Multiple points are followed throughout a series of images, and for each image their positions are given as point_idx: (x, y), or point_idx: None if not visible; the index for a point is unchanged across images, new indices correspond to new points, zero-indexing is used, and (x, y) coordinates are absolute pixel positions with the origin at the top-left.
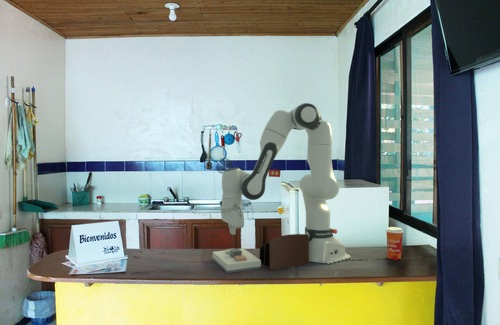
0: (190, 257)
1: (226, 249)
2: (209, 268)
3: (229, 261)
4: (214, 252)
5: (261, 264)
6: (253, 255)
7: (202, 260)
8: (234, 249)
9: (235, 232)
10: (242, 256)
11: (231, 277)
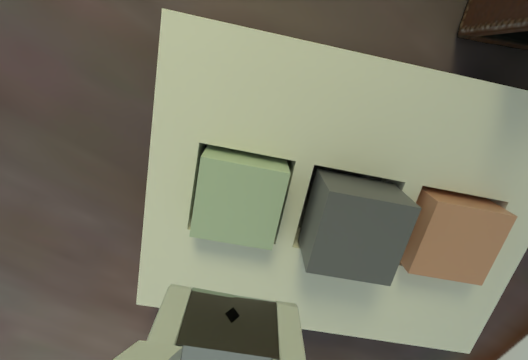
0: (49, 350)
1: (192, 232)
2: (305, 348)
3: (426, 316)
4: (160, 301)
5: (497, 44)
6: (447, 74)
7: (144, 321)
8: (329, 238)
9: (299, 328)
10: (469, 230)
11: (503, 323)
